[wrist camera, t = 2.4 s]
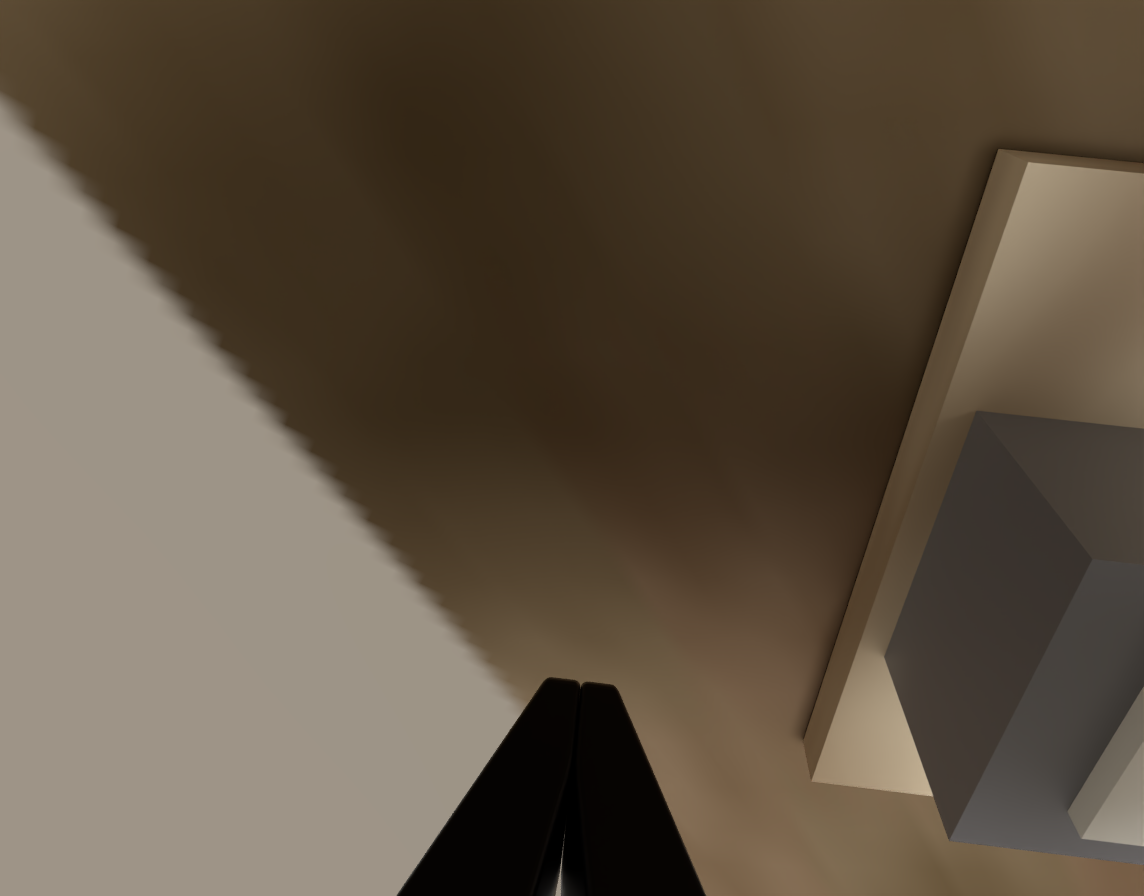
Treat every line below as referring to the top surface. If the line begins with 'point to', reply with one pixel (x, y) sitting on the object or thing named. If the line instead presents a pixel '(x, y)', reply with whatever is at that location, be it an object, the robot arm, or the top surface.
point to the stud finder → (1033, 640)
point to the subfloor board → (990, 410)
